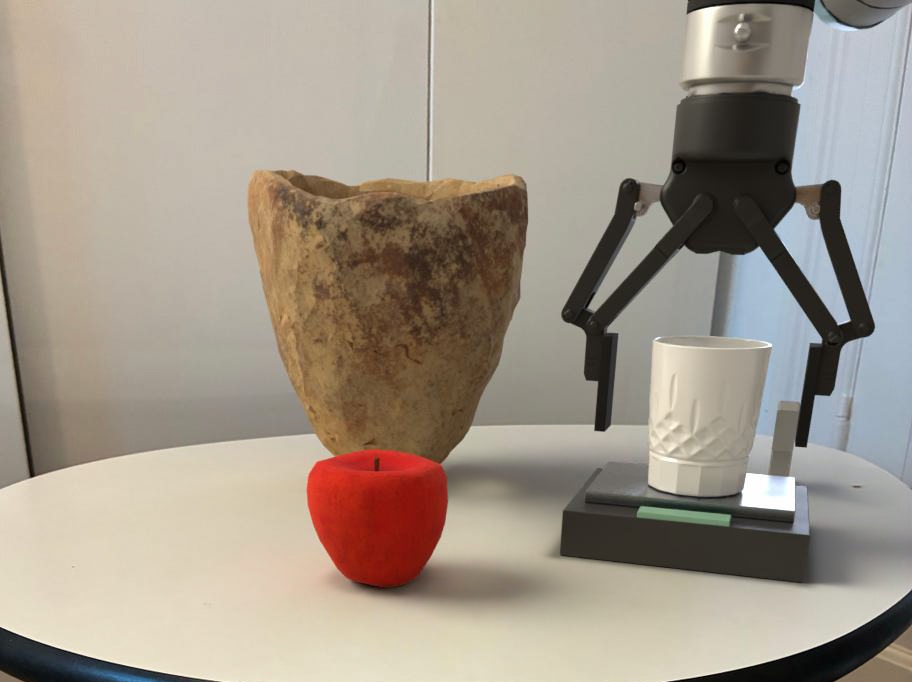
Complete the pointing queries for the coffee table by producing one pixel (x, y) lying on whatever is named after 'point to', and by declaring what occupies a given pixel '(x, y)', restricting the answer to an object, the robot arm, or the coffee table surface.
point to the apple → (378, 513)
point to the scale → (688, 538)
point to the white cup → (704, 412)
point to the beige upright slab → (784, 438)
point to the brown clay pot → (389, 300)
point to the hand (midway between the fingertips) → (698, 436)
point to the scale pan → (755, 501)
